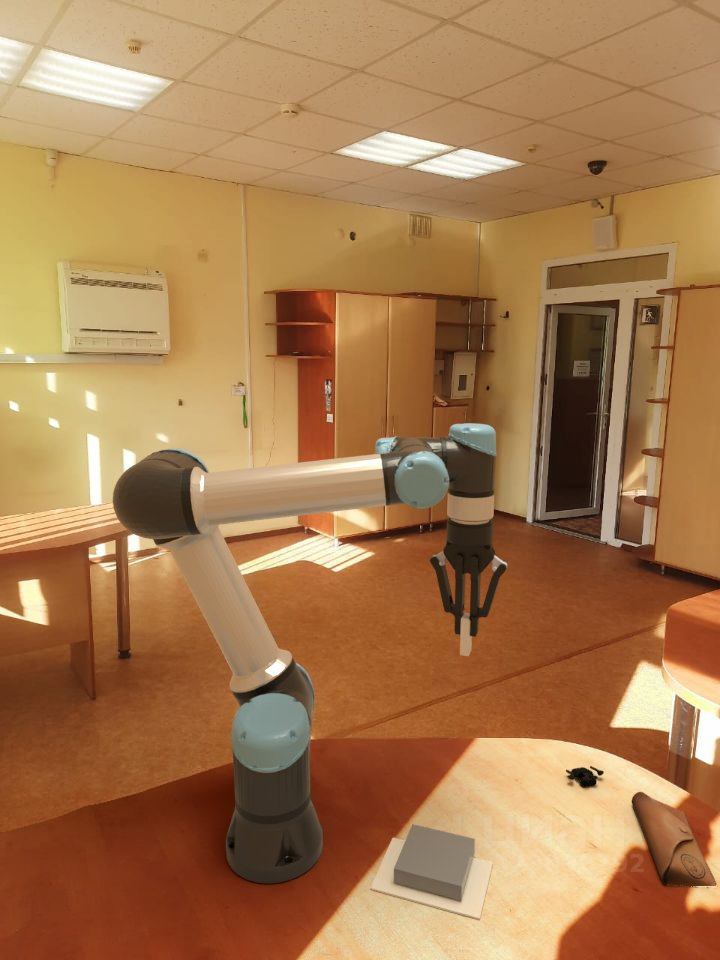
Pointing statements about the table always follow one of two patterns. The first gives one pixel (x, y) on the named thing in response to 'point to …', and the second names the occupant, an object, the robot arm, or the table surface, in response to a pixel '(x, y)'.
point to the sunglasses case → (672, 843)
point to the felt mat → (466, 907)
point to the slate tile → (435, 862)
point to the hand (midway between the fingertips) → (465, 652)
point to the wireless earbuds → (584, 776)
